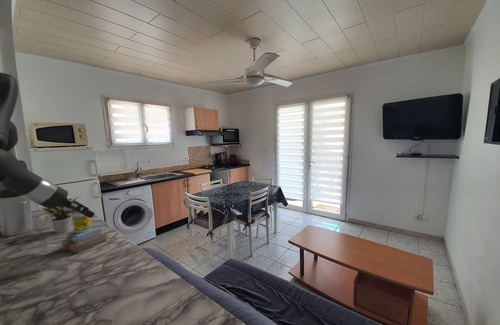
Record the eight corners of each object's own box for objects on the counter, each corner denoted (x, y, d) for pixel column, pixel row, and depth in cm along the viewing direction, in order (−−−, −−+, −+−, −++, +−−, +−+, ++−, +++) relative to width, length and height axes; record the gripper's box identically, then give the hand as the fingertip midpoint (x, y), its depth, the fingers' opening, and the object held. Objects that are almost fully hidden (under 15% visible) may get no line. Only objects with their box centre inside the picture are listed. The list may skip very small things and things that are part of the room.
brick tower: (62, 247, 77) (61, 233, 77) (91, 236, 86) (90, 223, 86) (77, 253, 73) (76, 237, 73) (106, 240, 83) (104, 227, 82)
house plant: (76, 221, 103) (73, 191, 102) (91, 226, 97) (88, 193, 96) (38, 232, 91) (34, 197, 89) (52, 238, 85) (48, 201, 83)
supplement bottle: (92, 226, 83) (90, 204, 82) (90, 231, 78) (88, 207, 77) (75, 229, 80) (73, 206, 79) (72, 234, 75) (70, 210, 74)
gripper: (65, 185, 68) (104, 208, 79) (44, 182, 73) (82, 204, 85) (47, 205, 63) (90, 225, 75) (25, 200, 69) (68, 220, 80)
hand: (86, 214), depth 80 cm, fingers open, 8 cm apart
